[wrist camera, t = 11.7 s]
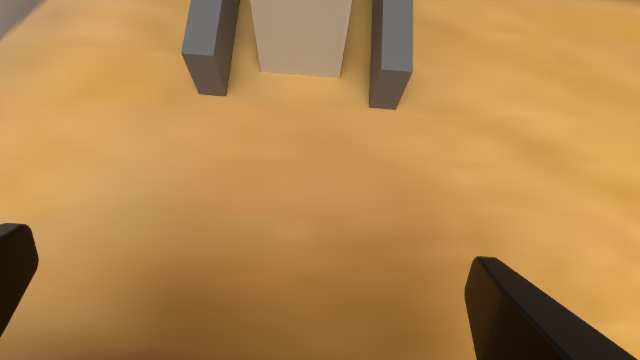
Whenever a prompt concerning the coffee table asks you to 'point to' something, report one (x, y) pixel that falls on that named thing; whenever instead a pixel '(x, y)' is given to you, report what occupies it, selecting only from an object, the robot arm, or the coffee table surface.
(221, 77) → the frame
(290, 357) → the coffee table surface
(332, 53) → the white rectangular block
